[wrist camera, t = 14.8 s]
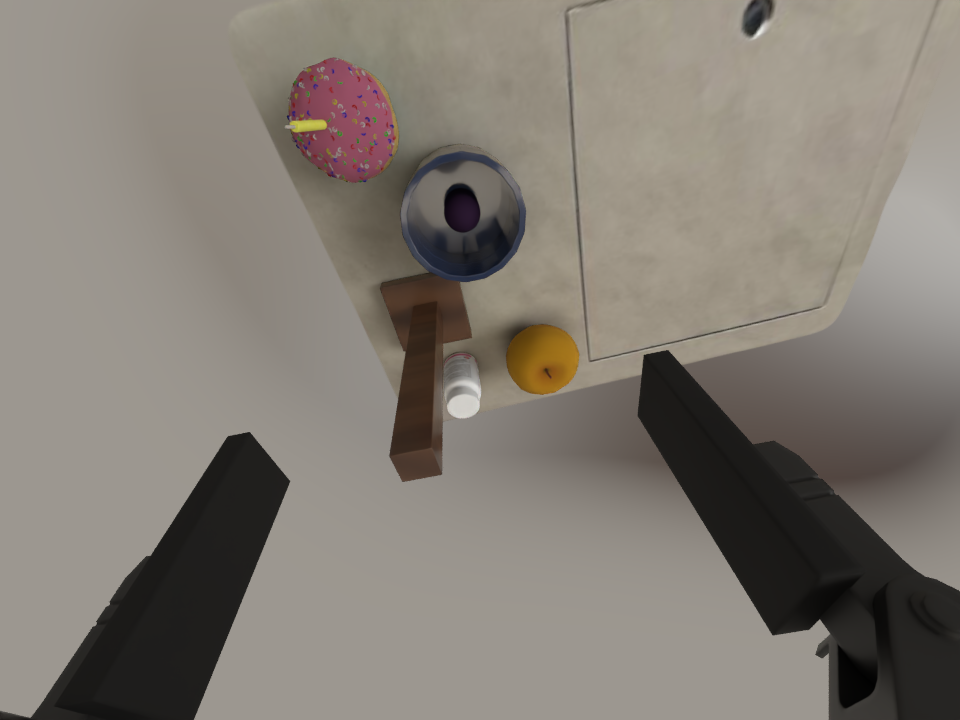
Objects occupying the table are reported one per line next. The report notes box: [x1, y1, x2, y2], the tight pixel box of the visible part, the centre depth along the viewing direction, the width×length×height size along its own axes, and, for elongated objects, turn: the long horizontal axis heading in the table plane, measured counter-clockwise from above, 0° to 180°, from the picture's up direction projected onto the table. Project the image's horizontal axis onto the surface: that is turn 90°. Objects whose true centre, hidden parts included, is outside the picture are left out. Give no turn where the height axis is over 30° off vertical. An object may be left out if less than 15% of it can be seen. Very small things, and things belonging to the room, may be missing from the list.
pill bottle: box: [444, 352, 481, 418], centre depth 47 cm, size 5×5×8 cm
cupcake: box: [284, 58, 399, 183], centre depth 29 cm, size 9×8×12 cm
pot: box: [400, 144, 526, 282], centre depth 35 cm, size 11×11×7 cm
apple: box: [506, 324, 579, 395], centre depth 45 cm, size 9×9×9 cm
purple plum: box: [444, 188, 481, 233], centre depth 36 cm, size 4×4×5 cm
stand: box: [380, 273, 472, 482], centre depth 35 cm, size 9×9×24 cm
